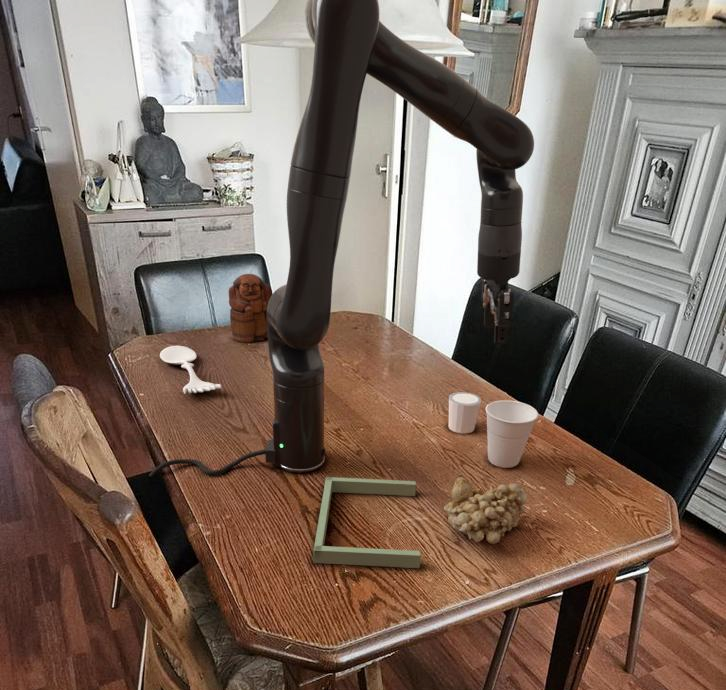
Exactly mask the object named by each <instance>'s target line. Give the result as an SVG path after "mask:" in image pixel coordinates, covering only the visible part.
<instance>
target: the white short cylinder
mask: <svg viewBox="0 0 726 690" xmlns="http://www.w3.org/2000/svg"><path fill="white" fill-rule="evenodd" d="M481 404H482V398H481V397H480V396H479V395H478V394H475V393H473V392H467V391H465V392H463V391H459V392H453V393H451V394H450V395H448V424H447V425H448V429H449V430H450V431H452V432H454V433H456V434H465V435H466V434H471V433H473V432H474V430H476V429H475V428H476V424H477V420H478V416H479V412H480V408H481Z"/></svg>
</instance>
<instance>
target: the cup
mask: <svg viewBox="0 0 726 690" xmlns="http://www.w3.org/2000/svg"><path fill="white" fill-rule="evenodd" d="M485 412H486V431H487V432H486V436H487V460H488V462H490V464H492V465H493V466H496V467H498V468H503V469H510V468H514V467H516V466H517V465H518V464H519V463H520V461H521V458H522V456H523V453H524V451H525V448H526V446H527V444H528V440H529V438H530V436H531V433H532V431H533V428H534V426H535V423H536V421H537V420H538V418H539V412H538V410H537V409H536V408H534V407H533V406H531V405H530V404H528V403H525V402H522V401H516V400H507V399H505V400H503V399H501V400H495V401H492V402H490V403H488V404H487V405H486V406H485Z"/></svg>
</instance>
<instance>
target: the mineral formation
mask: <svg viewBox="0 0 726 690" xmlns="http://www.w3.org/2000/svg"><path fill="white" fill-rule="evenodd" d="M453 485H454V486H453V487H452V490H451V498H452V501H450V502H448V503H446V505H445V506H444V507H443V510H444V511H445V512H446V513H447V521H448V523H449V525H451V526H452V528H453V529H455V530H458V531H460V532H461V533H462V534H463V535H468V538H469V540H473V541H474V542H475V543H479V542H481V541H482V540H483V539H484V538H485V540H486V542H488V543H489V544H491V545H494V544H497V543H499V542H500V540H501V538H504V536H505V533H506V532H510V531H511V530H512V529H513V528H515V527H516V528H517V526H518V525H519V522H520V519H521V517H520V516H519V515H522V514H524V513H525V512H526V506H524V505H525V504H526V503H527V500H528V499H527V495H526V493H525V490H524V489H523V488H520V487H519V485H518V484H516V483H514V482H513V483H510V484H508V486H507V485H506V484H499V485H498V487H497V488H493V489H487V490H486V491H483V489H482V488H476V489H473V487H472V486H471V485H470V481H469V480H467V479H465V478H464V477H462V476H459V477H458V478H457V479H456V480H455V482H453Z"/></svg>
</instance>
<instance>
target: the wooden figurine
mask: <svg viewBox="0 0 726 690" xmlns="http://www.w3.org/2000/svg"><path fill="white" fill-rule="evenodd" d="M272 294H273V290H272V286H270V284H268V283H265V281H264V280H263V279H262V278H261V277H260V276H259V275H256V274H254V273H244V274H241V275H239V276H238V277H236V278H235V280H233V282H232V285H231V286H230V287H229V289H228V304H229V307H230V309H229V319H230V329H231V333H232V338H233V340H234V341H235V340H236V341H237V342H242V343H254V342H260V341H265V340H268V334H267V305H268V302H269V299H270V297H271V296H272Z"/></svg>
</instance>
